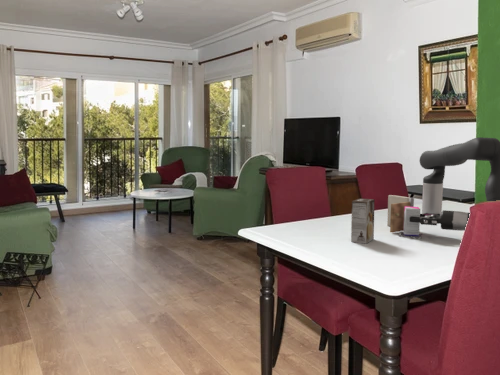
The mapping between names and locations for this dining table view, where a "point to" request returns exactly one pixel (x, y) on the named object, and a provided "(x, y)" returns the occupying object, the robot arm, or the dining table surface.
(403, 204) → the door
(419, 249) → the dining table surface
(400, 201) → the cream upright panel
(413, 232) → the supplement box
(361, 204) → the coffee box
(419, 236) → the pad
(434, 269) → the dining table surface
